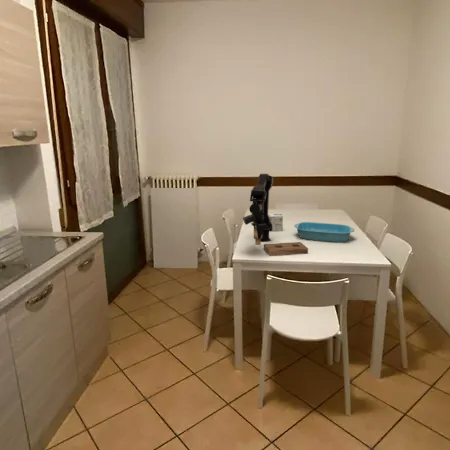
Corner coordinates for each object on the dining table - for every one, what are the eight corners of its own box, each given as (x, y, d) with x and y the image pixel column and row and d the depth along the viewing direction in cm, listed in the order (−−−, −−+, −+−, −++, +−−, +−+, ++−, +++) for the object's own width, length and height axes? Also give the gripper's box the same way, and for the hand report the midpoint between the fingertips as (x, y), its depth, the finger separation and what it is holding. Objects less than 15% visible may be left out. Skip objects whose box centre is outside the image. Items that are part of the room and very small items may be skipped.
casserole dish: (353, 234, 238) (354, 224, 236) (354, 245, 217) (355, 233, 215) (296, 230, 249) (296, 220, 247) (291, 240, 228) (292, 229, 227)
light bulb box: (281, 228, 254) (281, 213, 251) (282, 231, 247) (283, 215, 245) (265, 229, 254) (265, 213, 251) (267, 231, 247) (267, 216, 244)
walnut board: (263, 249, 212) (263, 244, 211) (300, 246, 215) (300, 241, 214) (269, 256, 200) (269, 250, 200) (307, 253, 203) (308, 248, 203)
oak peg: (252, 243, 210) (252, 226, 208) (261, 242, 211) (261, 225, 208) (254, 245, 206) (254, 228, 203) (263, 245, 206) (263, 228, 204)
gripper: (240, 207, 211) (240, 233, 215) (247, 214, 193) (247, 243, 197) (259, 206, 212) (259, 232, 216) (268, 213, 195) (267, 241, 199)
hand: (258, 237), depth 207 cm, fingers closed on oak peg, 5 cm apart
